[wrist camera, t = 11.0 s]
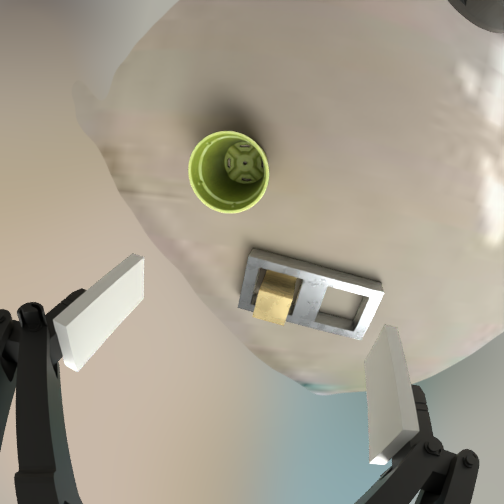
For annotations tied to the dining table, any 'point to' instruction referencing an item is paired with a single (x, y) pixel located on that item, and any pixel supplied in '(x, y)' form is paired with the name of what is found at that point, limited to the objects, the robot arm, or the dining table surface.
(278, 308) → the yellow rectangular block
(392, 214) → the dining table surface
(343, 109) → the dining table surface
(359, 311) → the grey double window frame
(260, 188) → the plant pot
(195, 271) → the dining table surface
